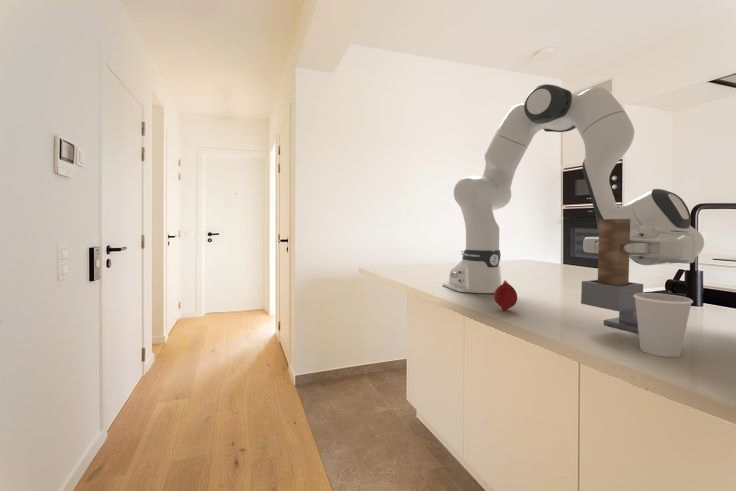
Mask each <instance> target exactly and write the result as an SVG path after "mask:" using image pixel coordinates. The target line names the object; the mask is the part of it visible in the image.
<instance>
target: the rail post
mask: <svg viewBox="0 0 736 491" xmlns="http://www.w3.org/2000/svg"><path fill="white" fill-rule="evenodd" d="M598 237H599V249H598V253H597V254H598V257H597V258H598V259H597V260H598V261H597V280H598V283H602V284H608V285H615V286H621V285H628V284H629V282H630V281H629V280H630V257H629V252H621V244H625V243H628V244H630V219H599V231H598Z"/></svg>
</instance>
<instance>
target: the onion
mask: <svg viewBox="0 0 736 491" xmlns="http://www.w3.org/2000/svg"><path fill="white" fill-rule="evenodd" d="M493 294H494V295H493V299H494V302H495V303H496V304H497V305H498V306H499V307H500V308H501V310H503V311H507V310H509V309H510V308H512V307H514V306H515V305H516V303H517V302H518V293H517V291H516V289H515V288H514V287H513V286H512V285H511V284H509V282H508V281H507V280H505V279H504V280H503V282H502V285H500V286H499V287H498V288H497V289H496V291H495V293H493Z"/></svg>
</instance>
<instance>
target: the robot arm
mask: <svg viewBox="0 0 736 491" xmlns="http://www.w3.org/2000/svg"><path fill="white" fill-rule="evenodd" d="M575 129H576V130H577V131H578V133H579V135H580V137H581V139H582V141H583V144H584V160H583V162H582V164H581V166H582V173H583V177H584V180H585V183H586V187H587V191H588V194H589V196H590V200H591V203H592V207H593V210H594V212H595V217H596V218H595V219H596V224H597V225H596V227H597V231H598V232H599V219H630V244H628V243H625V244H621V252H629V260H632V261H633V262H634V263H636V264H638V265H641V266H658V265H666V264H667V265H668V264H669V265H670V264H692V263H694V262H695V260H696V257H698V256H699V254H701V253H702V251H703V248H704V246H705V239H704V237H703V235H702V234H701V232H700V231H698V230H697V229H696V228H694V227H693V226H691V224H692V222H691V221H692V220H691V218H692V217H691V213H690V210H689V208H688V205H687V204H686V203H685V200H683V199H682V198H681V197H680V196H679V195H678V194H676V193H674V192H671V191H669V190H666V189H662V188H661V189H660V188H653V189H652V190H650V191H648V192H645V193H643V194H640V196H638V197H636V198H634V199H633V200H631V201H629V202H627V203H625V204H623V205H621V206H619V207H618V205H617V202H616V199H615V196H614V193H613V190H612V187H611V184H610V178H611V174H612V172H613V170H614V168H615V166H616V165H617V163H618V162H619V161H620V160H621V158H623V156H624V155H625V154H626V153H627V152H628V150H629V149H630V148H631V145H632V143H633V140H634V137H635V127H634V125H633V123H632V120H631V119H630V117H629V116H628V114H627V112H626V111H625V109H624V108H623V106H622V105H621V103H620V102H619V101H618V100H617V99H616V97H615V96H614V95H613V94H612V93H611V92H610V91H608V89H606V88H605V87H601V86H594V87H591V88H587V89H586V90H584V91H582V92H581V93H579V94H573V93H572V92H571V91H570V90H568V89H566V88H564V87H561V86H558V85H556V84H555V85H554V84H549V83H548V84H546V83H545V84H540V85H538V86H536V87H534V88H533V89H531V90H530V92H529V93H528V94H527V96H526V97H525V99H524V102H523V103H517V104H516V105H513V106H512V107H511V108H510V109H509V111H508V112H507V114H506V115H505V116H504V118H503V120H502V121H501V123H500V124H499V126H498V128H497V129H496V132H495V134H494V136H493V138H492V140H491V142H490V143H489V146H488V148H487V149H486V152H485V154H484V161H485V167H484V171H483V175H481V176H478V175H471V176H466V177H463V178H461V179H459V180H458V181H457V182H456V184H455V186H454V188H453V198H454V200H455V202H456V203H457V205H458V206H459V207H460V209H461V210H460V211H461V213H462V216H463V220H464V221H463V222H464V225H465V226H464V227H465V249H464V250H462V251H460V255H462V258H461V259H462V260H460V262H458V263H457V264H456V265H455V266H453V267H452V268H451V269H450V272H449V278H448V279H449V280H448V281H446V282H443V283H442V286H443V287H446V288H449V289H451V290H454V291H457V292H460V293H475V294H495V291H496V289H497V288H498V287H499V286H500V285H502V284H503V282H502V272H501V266H500V261H501V256H502V254H501V250H500V227H499V224H498V223H497V221H496V218H495V216H494V211H496V210H498V209H502V208H505V207H506V206H508V204H509V203H510V201H511V198H512V190H511V189H512V188H511V187H512V183H513V179H514V177H515V173H516V170H517V168H518V166H519V164H520V162H521V160H522V158H523V157H524V155H525V153H526V151H527V149H528V147H529V146H530V144H531V142H532V140H533V138H534V137H535V135H536V134H537V133H538V132H540V131H541V130H543V131H544V132H553V133H566V132H571V131H573V130H575ZM582 247H583V251H584V253H590V254H591V253H592V254H598V249H599V236H592V237H591V236H588V237H587V236H586V237H584V239H583V243H582Z"/></svg>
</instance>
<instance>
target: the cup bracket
mask: <svg viewBox="0 0 736 491" xmlns="http://www.w3.org/2000/svg"><path fill="white" fill-rule="evenodd" d="M636 293H644V284H643V283H638V282H630V281H629V284H628V285H621V286H615V285H608V284H602V283H598V279H591V280H582V281H581V293H580V294H581V295H580V298H581V299H580V304H581V305H585V306H591V307H595V308H600V309H606V310H609V311H614V312H619V314H618V317H612V318H608V319H603V325H605V326H609V327H614V328H618V329H621V330H626V331H630V332H633V333H638V334H639V331H638V322H637V312H636V303H635V297H634V296H633V295H634V294H636Z"/></svg>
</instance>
